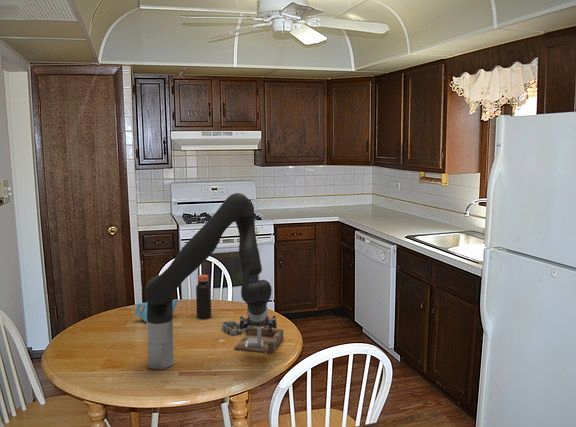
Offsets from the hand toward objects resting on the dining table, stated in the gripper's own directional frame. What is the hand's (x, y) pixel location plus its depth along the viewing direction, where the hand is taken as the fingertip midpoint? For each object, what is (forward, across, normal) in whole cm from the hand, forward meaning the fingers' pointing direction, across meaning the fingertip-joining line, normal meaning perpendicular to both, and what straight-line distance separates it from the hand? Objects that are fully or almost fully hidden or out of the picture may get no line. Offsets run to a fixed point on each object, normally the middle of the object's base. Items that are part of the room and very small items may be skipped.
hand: (258, 330), depth 206 cm
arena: (+10, 0, +2) cm, 10 cm away
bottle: (+33, +27, -22) cm, 48 cm away
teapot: (+32, +48, -20) cm, 61 cm away
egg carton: (+21, +12, -9) cm, 25 cm away
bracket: (+7, +2, +3) cm, 7 cm away
